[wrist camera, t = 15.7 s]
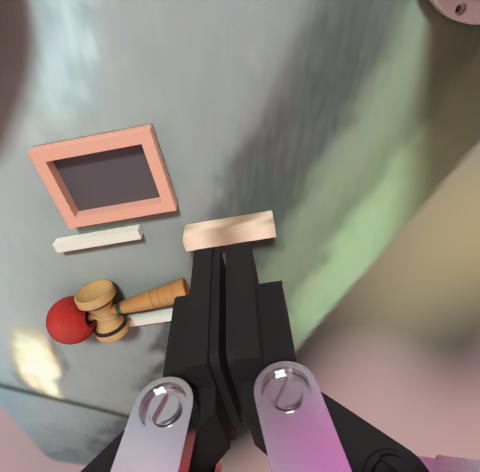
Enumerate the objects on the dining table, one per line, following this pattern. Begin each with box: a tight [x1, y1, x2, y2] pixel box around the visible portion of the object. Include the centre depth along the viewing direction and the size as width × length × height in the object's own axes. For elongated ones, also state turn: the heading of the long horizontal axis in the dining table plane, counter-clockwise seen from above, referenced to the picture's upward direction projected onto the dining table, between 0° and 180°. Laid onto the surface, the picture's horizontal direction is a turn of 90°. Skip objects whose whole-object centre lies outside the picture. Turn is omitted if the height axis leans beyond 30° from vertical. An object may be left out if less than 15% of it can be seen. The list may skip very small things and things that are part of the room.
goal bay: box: [53, 224, 173, 327], centre depth 47 cm, size 10×15×1 cm, turn 10°
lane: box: [183, 211, 287, 306], centre depth 45 cm, size 10×13×3 cm
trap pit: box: [28, 124, 178, 229], centre depth 39 cm, size 12×9×2 cm
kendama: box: [46, 278, 190, 344], centre depth 48 cm, size 8×6×18 cm
